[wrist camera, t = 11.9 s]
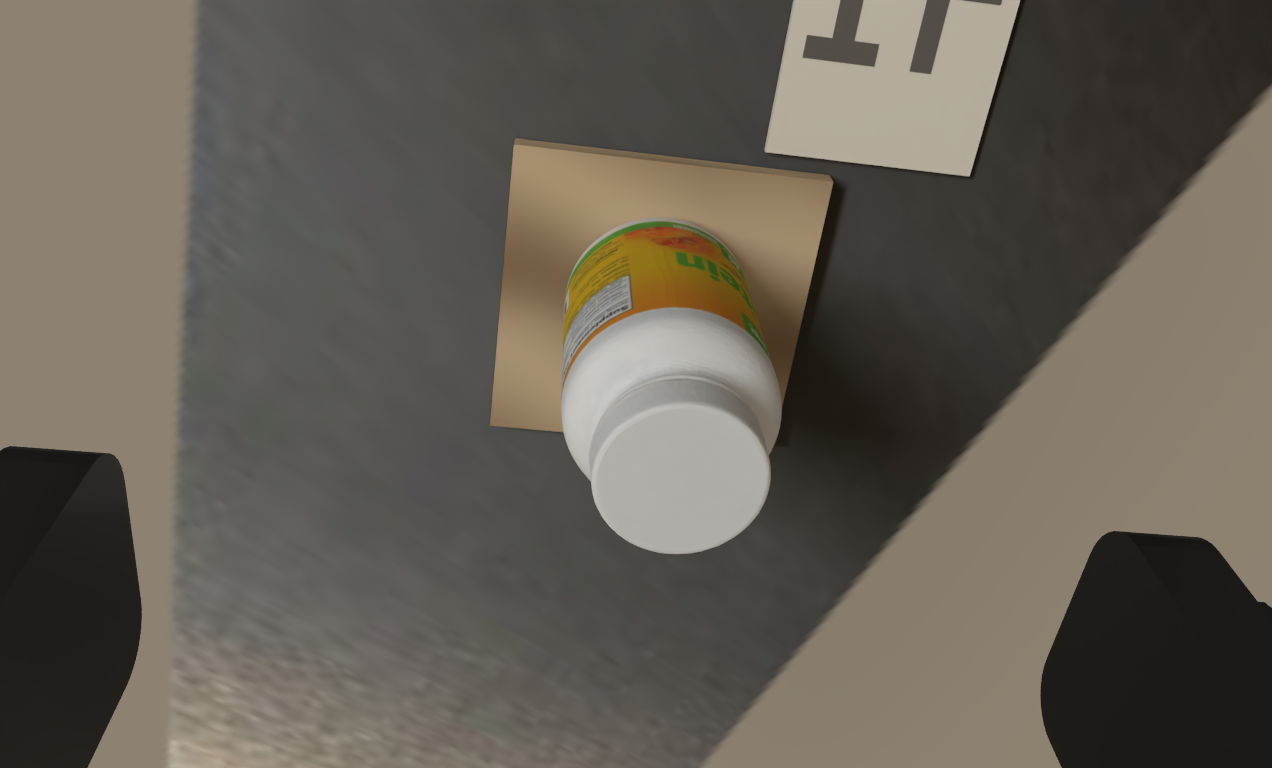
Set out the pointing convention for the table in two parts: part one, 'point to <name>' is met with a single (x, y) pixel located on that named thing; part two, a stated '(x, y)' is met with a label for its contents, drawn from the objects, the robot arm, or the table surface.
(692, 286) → the supplement bottle
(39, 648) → the robot arm
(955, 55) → the tile
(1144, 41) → the table surface
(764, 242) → the oak coaster
